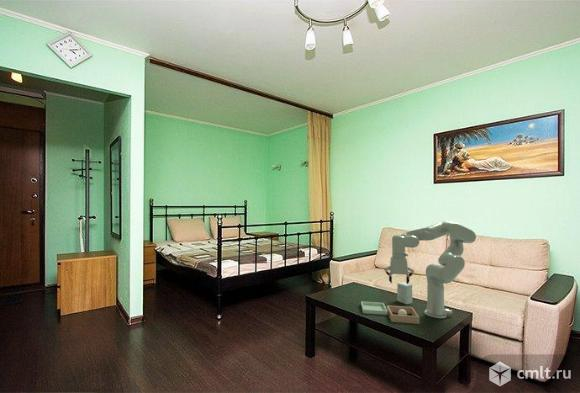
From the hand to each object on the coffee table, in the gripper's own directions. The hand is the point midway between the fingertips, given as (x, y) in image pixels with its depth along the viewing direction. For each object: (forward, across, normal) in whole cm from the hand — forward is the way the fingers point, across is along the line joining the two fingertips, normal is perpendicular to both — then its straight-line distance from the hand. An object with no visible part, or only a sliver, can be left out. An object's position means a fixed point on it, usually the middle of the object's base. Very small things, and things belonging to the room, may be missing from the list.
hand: (399, 283), depth 173 cm
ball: (+18, -2, +1) cm, 18 cm away
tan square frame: (+21, -2, +1) cm, 21 cm away
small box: (+21, -7, -29) cm, 36 cm away
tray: (+21, +15, -7) cm, 26 cm away
